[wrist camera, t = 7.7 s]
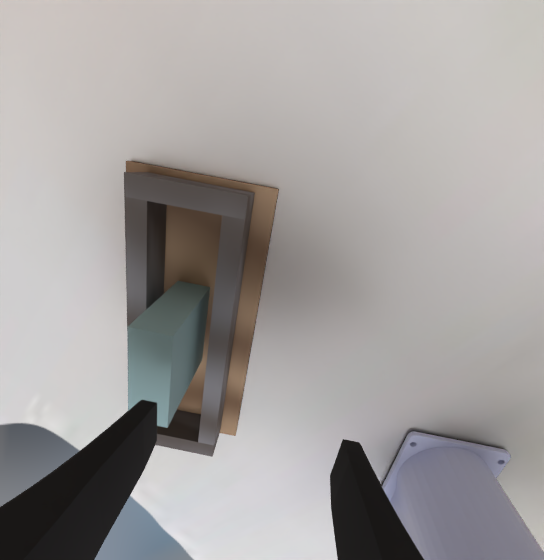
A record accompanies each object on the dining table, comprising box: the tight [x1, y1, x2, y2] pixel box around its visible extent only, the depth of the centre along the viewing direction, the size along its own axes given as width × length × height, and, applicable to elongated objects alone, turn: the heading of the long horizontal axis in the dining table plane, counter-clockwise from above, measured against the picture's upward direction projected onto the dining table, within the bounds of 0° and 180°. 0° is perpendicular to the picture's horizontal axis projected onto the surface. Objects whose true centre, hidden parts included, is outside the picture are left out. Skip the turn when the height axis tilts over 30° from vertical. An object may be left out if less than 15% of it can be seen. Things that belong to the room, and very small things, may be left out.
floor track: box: [124, 161, 279, 456], centre depth 19 cm, size 20×9×3 cm, turn 170°
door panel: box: [128, 281, 210, 428], centre depth 17 cm, size 6×2×6 cm, turn 169°
